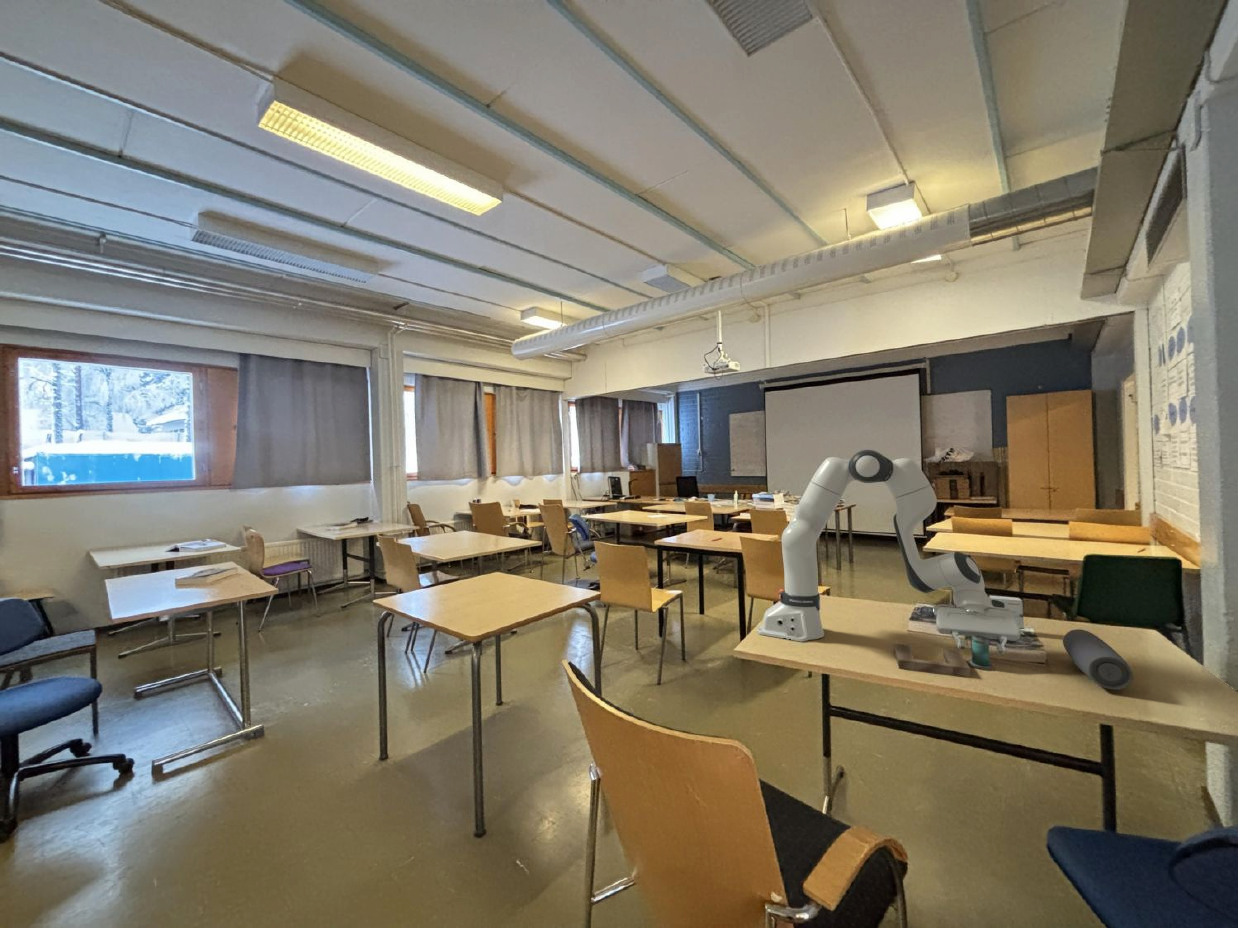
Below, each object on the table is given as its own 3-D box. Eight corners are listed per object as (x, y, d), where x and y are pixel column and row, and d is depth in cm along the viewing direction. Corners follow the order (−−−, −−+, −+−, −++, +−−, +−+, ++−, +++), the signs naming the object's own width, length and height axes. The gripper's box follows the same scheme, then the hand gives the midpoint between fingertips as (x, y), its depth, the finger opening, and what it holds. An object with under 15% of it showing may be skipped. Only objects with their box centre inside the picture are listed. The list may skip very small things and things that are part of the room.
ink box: (1021, 631, 169) (1020, 597, 169) (1024, 636, 165) (1023, 600, 165) (989, 628, 173) (988, 594, 173) (992, 632, 169) (991, 598, 169)
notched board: (899, 668, 142) (898, 659, 142) (894, 651, 155) (894, 643, 155) (970, 677, 135) (970, 668, 135) (959, 658, 148) (958, 650, 148)
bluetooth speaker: (1137, 698, 121) (1136, 657, 121) (1086, 690, 126) (1085, 651, 126) (1103, 664, 141) (1102, 629, 141) (1060, 659, 146) (1059, 625, 146)
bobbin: (970, 668, 141) (969, 640, 141) (966, 660, 146) (965, 633, 146) (996, 671, 138) (995, 643, 138) (991, 663, 144) (990, 636, 143)
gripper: (933, 597, 153) (939, 640, 144) (1015, 603, 144) (1027, 649, 135) (931, 608, 157) (937, 650, 148) (1010, 614, 148) (1022, 659, 139)
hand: (981, 649), depth 141 cm, fingers open, 8 cm apart
